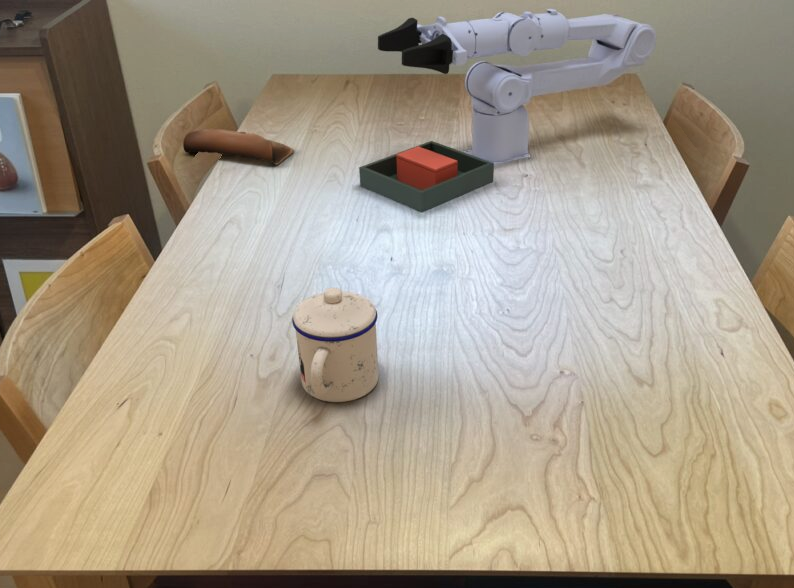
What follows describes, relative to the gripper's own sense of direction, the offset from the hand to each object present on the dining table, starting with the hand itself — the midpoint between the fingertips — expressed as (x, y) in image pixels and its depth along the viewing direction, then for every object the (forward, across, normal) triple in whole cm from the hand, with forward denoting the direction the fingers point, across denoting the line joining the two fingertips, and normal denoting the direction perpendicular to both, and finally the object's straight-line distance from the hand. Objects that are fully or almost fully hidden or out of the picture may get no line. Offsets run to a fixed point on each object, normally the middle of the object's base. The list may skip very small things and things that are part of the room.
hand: (390, 50), depth 134 cm
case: (-4, +6, +20) cm, 21 cm away
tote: (-4, +6, +21) cm, 22 cm away
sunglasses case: (+17, -24, +23) cm, 37 cm away
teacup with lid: (+33, +49, +19) cm, 62 cm away
